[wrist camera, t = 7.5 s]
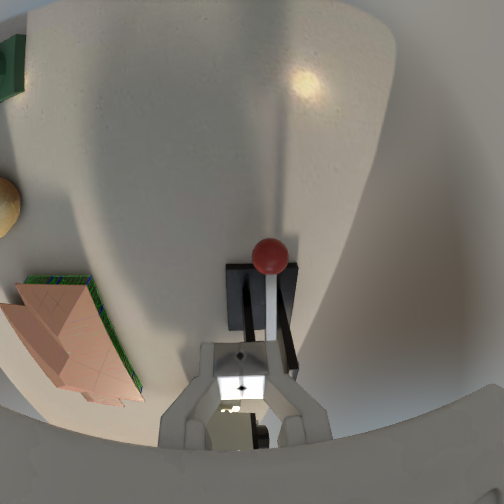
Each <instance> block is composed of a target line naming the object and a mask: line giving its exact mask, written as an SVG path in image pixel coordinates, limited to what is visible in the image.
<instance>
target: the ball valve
mask: <svg viewBox="0 0 504 504" xmlns="http://www.w3.org/2000/svg"><path fill="white" fill-rule="evenodd" d="M240 402H241V399H230V400H221V402H220V404H219V406H218V407H217V409H216V410H215V412H214V413H213V415H212V416H211V418H210V419H209V421H208V422H207V424H206V428H207V431H208V433H209V436H210V439H211V441H212V450H254V449H268V448H269V433H268V429H267V427H266V426H265V425H258V420H256V417H255V413H238V412H232V411H238V410H239V409H240Z"/></svg>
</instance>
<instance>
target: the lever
mask: <svg viewBox="0 0 504 504" xmlns="http://www.w3.org/2000/svg"><path fill="white" fill-rule="evenodd" d="M288 260H289V253H288V250H287V248H286V246H285V245H284V244H283V243H282V242H281V241H279V240H277V239H273V238H267V239H264V240H262V241H260V242H259V243H257V245H256V246H255V247H254V249H253V252H252V262H253V265H254V266H255V268H256V269H257V270H258V271H259V272H261V273H262V274H264V281H265V341H272V340H277V274H278V273H280V272H282V271H283V270H284V269H285V267H286V266H287V264H288ZM282 365H283V361H282Z"/></svg>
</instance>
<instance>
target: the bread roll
mask: <svg viewBox="0 0 504 504" xmlns="http://www.w3.org/2000/svg"><path fill="white" fill-rule="evenodd" d="M20 206H21V200H20V194H19V192H18V190H17V189H16V187H15V186H14V185H13V184H12V183H11V182H10V181H8V180H6V179H4V178H1V177H0V238H1V237H3V236H4V235H5V234H6V233H7V232H8V231H9V230H10V229H11V228H12V226H13V225H14V224H15V222H16V221H17V219H18V217H19V214H20Z"/></svg>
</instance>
